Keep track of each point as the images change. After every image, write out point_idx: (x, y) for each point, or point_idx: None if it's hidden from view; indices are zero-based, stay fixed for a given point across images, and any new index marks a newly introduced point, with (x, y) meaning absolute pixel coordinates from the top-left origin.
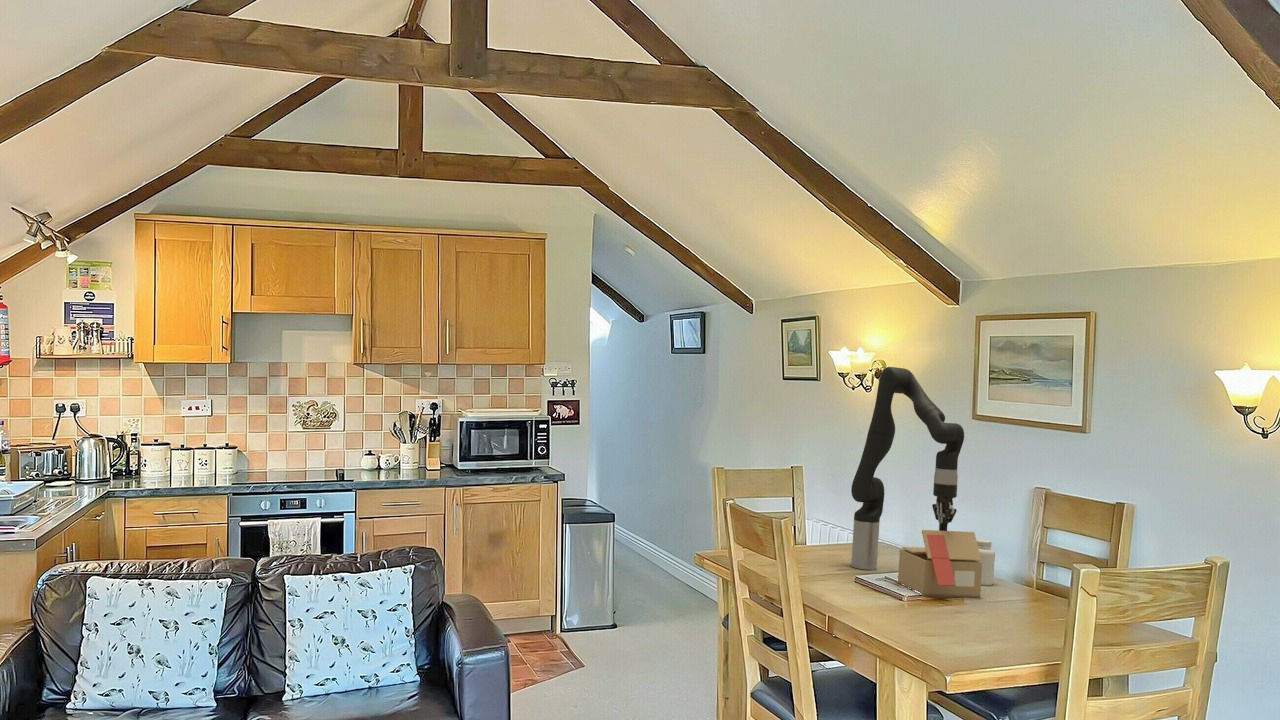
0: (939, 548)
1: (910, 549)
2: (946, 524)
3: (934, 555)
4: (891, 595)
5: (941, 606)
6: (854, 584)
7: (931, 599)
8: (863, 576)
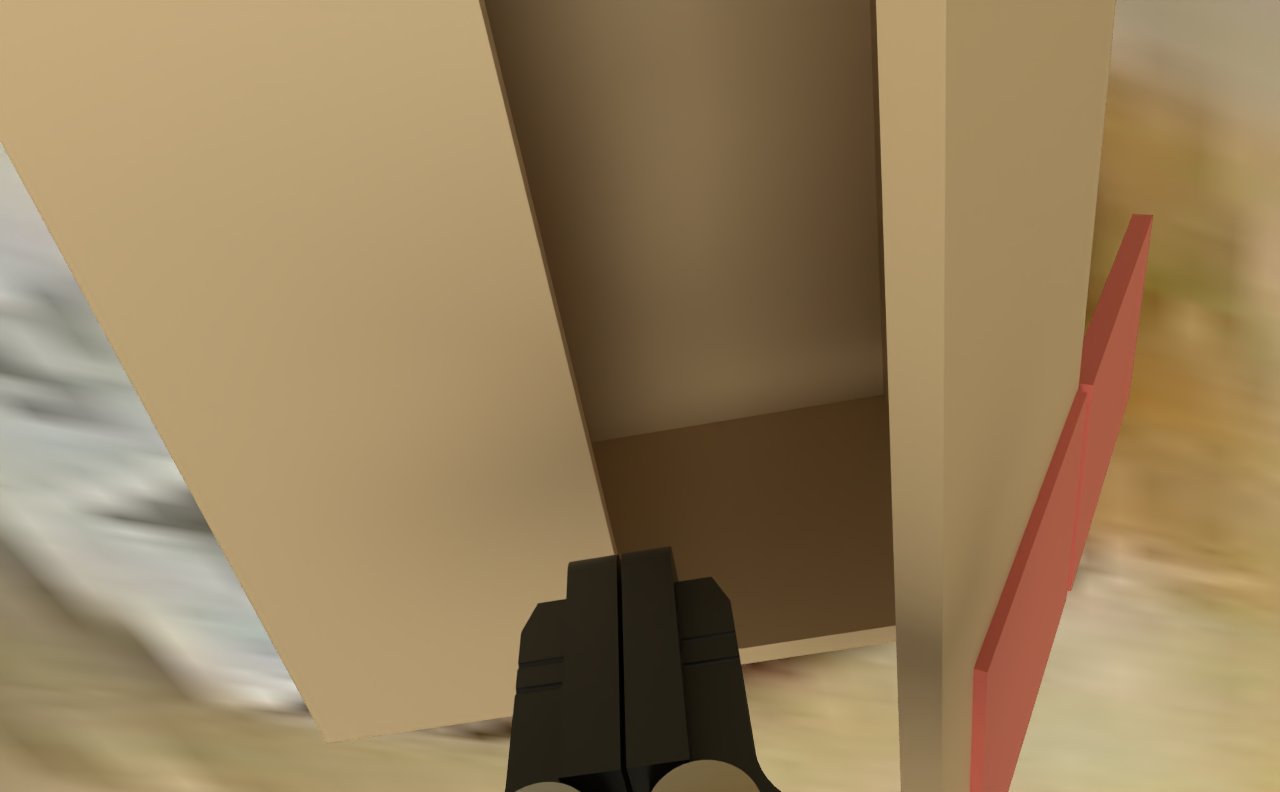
0: (1046, 589)
1: (501, 700)
2: (761, 780)
3: (1064, 588)
4: None
5: (1272, 345)
6: None
7: None
8: (253, 667)
